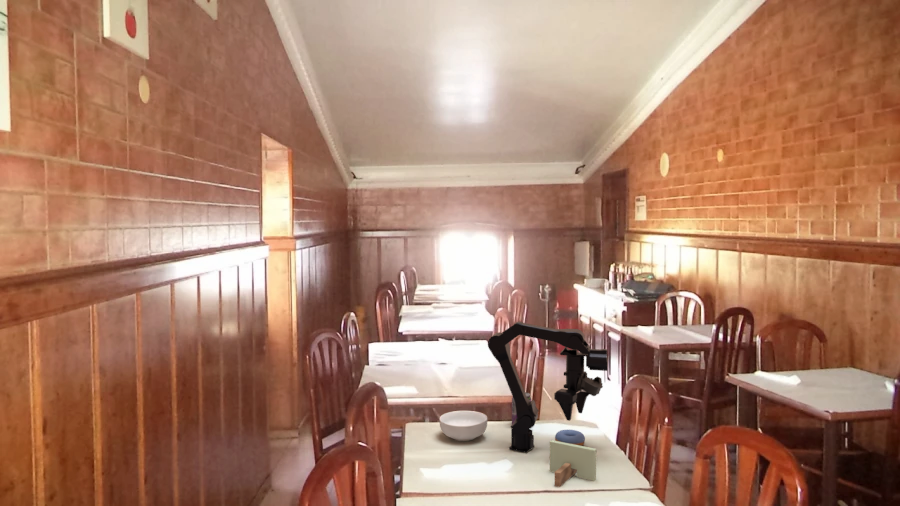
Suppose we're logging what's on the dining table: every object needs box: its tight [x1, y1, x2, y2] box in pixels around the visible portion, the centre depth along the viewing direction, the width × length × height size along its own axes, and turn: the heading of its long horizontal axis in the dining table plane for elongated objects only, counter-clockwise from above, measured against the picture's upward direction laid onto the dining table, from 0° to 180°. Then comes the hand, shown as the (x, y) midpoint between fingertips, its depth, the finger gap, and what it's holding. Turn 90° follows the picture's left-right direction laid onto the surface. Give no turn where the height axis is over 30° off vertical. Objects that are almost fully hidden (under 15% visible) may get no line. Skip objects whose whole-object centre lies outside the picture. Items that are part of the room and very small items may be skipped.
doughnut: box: [554, 429, 586, 446], centre depth 221 cm, size 10×10×5 cm
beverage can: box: [511, 392, 532, 426], centre depth 238 cm, size 7×7×12 cm
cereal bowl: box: [439, 410, 488, 442], centre depth 227 cm, size 17×17×7 cm
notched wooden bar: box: [554, 463, 577, 488], centre depth 194 cm, size 20×2×4 cm, turn 147°
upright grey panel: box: [549, 439, 597, 482], centre depth 194 cm, size 14×2×9 cm, turn 58°
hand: (574, 416), depth 211 cm, fingers open, 9 cm apart
